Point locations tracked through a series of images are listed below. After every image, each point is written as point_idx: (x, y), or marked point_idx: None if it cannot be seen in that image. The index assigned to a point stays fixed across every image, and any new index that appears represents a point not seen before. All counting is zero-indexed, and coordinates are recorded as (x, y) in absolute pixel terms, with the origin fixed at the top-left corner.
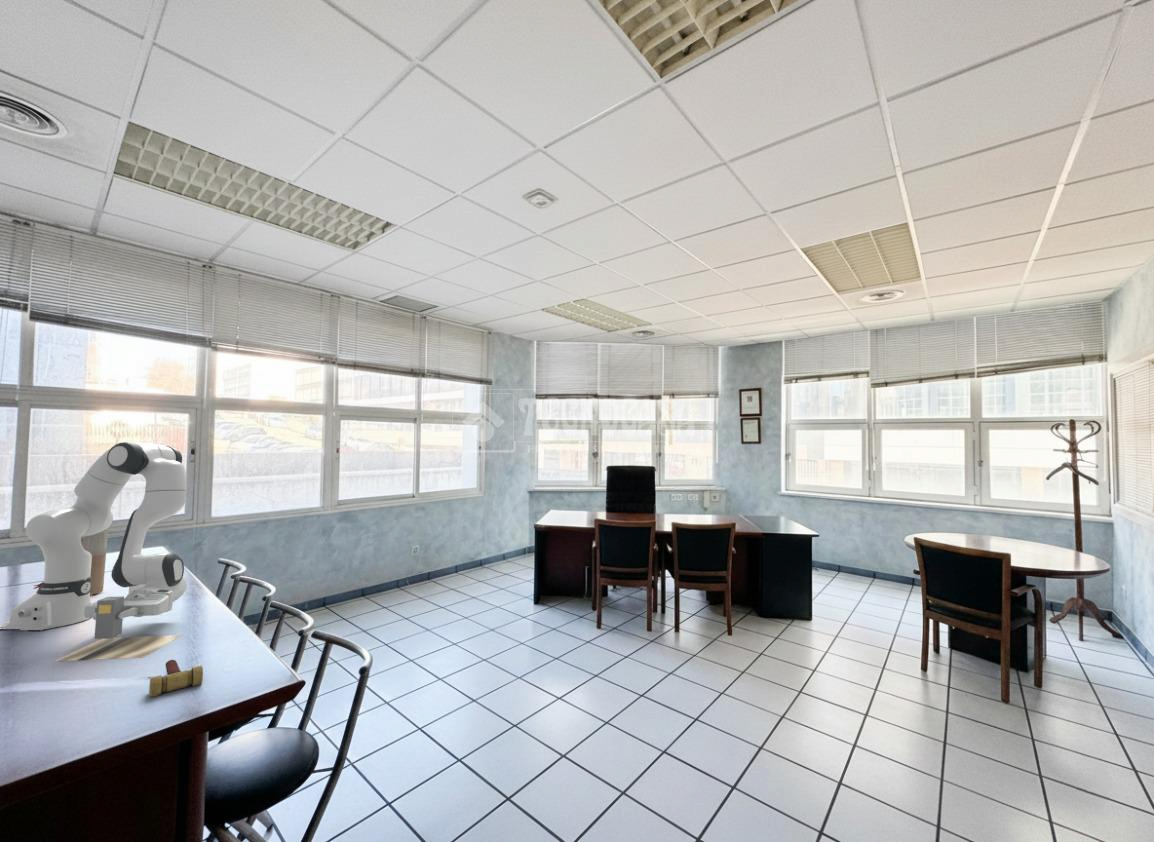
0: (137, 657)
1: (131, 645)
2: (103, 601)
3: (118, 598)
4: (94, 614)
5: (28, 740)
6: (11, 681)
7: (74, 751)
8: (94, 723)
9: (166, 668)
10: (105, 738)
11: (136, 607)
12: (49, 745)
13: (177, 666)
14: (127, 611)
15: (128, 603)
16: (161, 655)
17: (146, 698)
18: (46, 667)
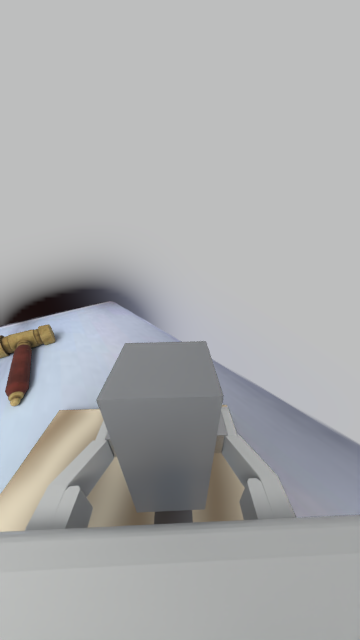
0: (71, 410)
1: (102, 516)
2: (177, 346)
3: (118, 360)
4: (223, 407)
5: (122, 312)
6: (229, 370)
7: (93, 308)
8: (91, 319)
9: (27, 367)
10: (80, 312)
11: (36, 522)
12: (108, 310)
13: (12, 362)
14: (91, 444)
15: (107, 609)
16: (20, 461)
17: (58, 337)
18: (237, 411)
